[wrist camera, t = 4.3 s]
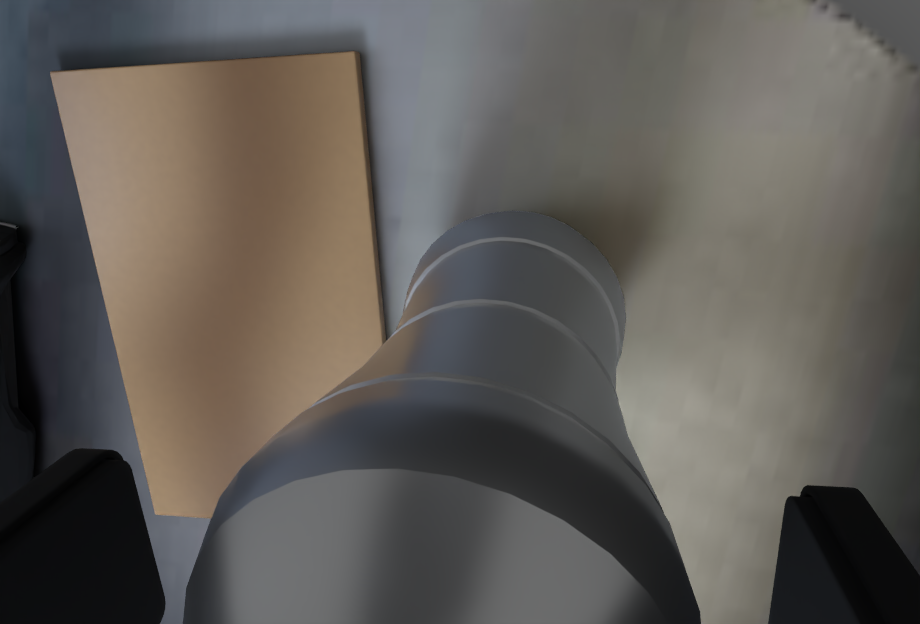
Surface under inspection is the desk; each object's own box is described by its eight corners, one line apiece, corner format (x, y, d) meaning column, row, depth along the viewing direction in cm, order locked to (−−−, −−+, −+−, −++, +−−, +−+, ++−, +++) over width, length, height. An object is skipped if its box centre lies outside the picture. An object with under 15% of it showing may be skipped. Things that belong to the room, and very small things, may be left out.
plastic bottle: (460, 168, 21) (-473, 785, 2) (654, 241, 21) (1383, 1627, 2) (403, 336, 23) (-287, 1321, 5) (577, 404, 23) (584, 1747, 4)
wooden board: (360, 51, 20) (355, 50, 20) (403, 525, 26) (400, 532, 26) (59, 71, 22) (48, 71, 22) (161, 508, 28) (154, 515, 28)
